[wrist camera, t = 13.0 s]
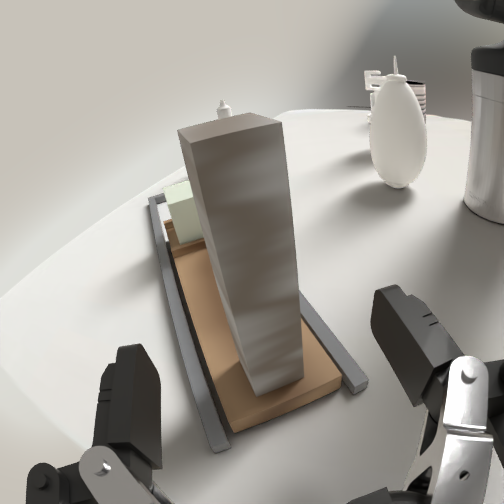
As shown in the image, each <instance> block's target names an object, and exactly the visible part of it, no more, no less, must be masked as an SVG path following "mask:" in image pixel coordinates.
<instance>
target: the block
mask: <svg viewBox="0 0 504 504" xmlns="http://www.w3.org/2000/svg"><path fill="white" fill-rule="evenodd" d="M163 191H164V194H165V198H166V201H167V204H168V208H169V211H170V215H171V218H172V221H173V224H174V228H175V231H176V234H177V237H178V240H179V243H180V245H182V244H185V243H188V242H191V241H194V240H197V239H200V238H204V236H203V232H202V228H201V225H200V221H199V217H198V213H197V209H196V205H195V201H194V198H193V194H192V190H191V186H190V182H189V180H187V181H184V182H181V183H178V184H174V185H171V186H168V187H165V188H163Z"/></svg>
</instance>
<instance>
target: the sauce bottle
mask: <svg viewBox="0 0 504 504" xmlns="http://www.w3.org/2000/svg"><path fill="white" fill-rule="evenodd" d="M386 79H387V80H388V81H387V82H386V83H385V84H384V86H383V87H382V89H381V90H380V92H379V95H378V97H377V99H376V102H375V105H374V109H373V112H372V117H371V123H370V136H369V137H370V151H371V157H372V161H373V164H374V166H375V169H376V171H377V173H378V175H379V176H380V178H381V179H383V180H385V182H386V184H388V185H390V186H391V187H393V188H398V189H399V188H403V187H407V186H408V185H409V184H410V183H412V182H414V181H415V180H416V179H417V177H418V176H419V174H420V172H421V170H422V168H423V166H424V162H425V158H426V152H427V133H426V126H425V121H424V117H423V113H422V110H421V107H420V105H419V102H418V100H417V98H416V96H415V94H414V92H413V90H412V89H411V87H410V86H409V85H408V84H407V83H406V82H405V81H407V79H406V77H405V76H404V75H399V74H398V69H397V60H396V56H394V74H389V75H387V77H386Z"/></svg>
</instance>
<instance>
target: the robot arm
mask: <svg viewBox="0 0 504 504" xmlns="http://www.w3.org/2000/svg"><path fill="white" fill-rule="evenodd" d="M455 2H456V3H457V5H458V6H459V7H460V8H461V9H462V10H463V11H464V12H466V13H468V14H470V15H472V16H475V17H478V18H482V19H487V20H491V21H495V22H499V23H503V24H504V0H455ZM471 62H472V63H471V65H472V69H473V70H472V127H471V142H470V154H469V164H468V172H467V180H466V188H465V195H464V202H465V204H466V205H467V206H468V208H469V209H471V210H472V211H473V212H475V213H476V214H478V215H479V216H481V217H483V218H485V219H488V220H490V221H494V222H497V223H502V224H504V40H503V41H501V42H500V43H497V44H493V45H487V46H480V47H476V48H474V49H473V50H472V53H471ZM371 329H372V333H373V335H374V337H375V339H376V341H377V342H378V344H379V346H380V348H381V349H382V351H383V353H384V354H385V356H386V358H387V360H388V361H389V363H390V365H391V367H392V368H393V370H394V372H395V374H396V376H397V377H398V379H399V381H400V383H401V384H402V386H403V388H404V390H405V392H406V394H407V395H408V397H409V399H410V401H411V403H412V405H413V406H414V407H416V406H418V405H420V404H422V403H425V405H426V407H427V410H426V412H425V417H424V422H423V427H422V431H421V436H420V440H419V444H418V448H417V452H416V456H415V459H414V462H413V464H412V466H411V467H410V470H409V472H408V474H407V477H406V480H405V483H404V486H403V489H402V491H389V492H388V489H387V487H385V488H383V489H380V490H378V491H375V492H373V493H370V494H367V495H365V496H362V497H359V498H357V499H354V500H352V501H350V502H348V503H347V504H483V501H484V496H485V492H486V487H487V481H488V476H489V470H490V463H491V456H492V448H493V446H494V448H495V450H496V453H497V455H498V457H499V459H500V461H501V464H502V466H503V468H504V360H498V361H492V362H486V363H483V362H482V361H481V360H480V359H478V358H476V357H473V356H465V355H464V354H463V353H462V351H461V350H460V349H459V347H458V346H457V345H456V343H455V342H454V341H453V339H452V338H451V336H450V335H449V334H448V333H447V331H446V330H445V329H444V327H443V326H442V325H441V323H439V322H438V319H437V318H436V317H435V316H434V315H432V312H431V311H430V309H429V308H428V307H427V306H426V304H425V303H424V302H423V301H421V300H420V299H418V298H416V297H415V296H413V295H409V296H406V294H405V293H404V292H403V291H402V289H401V288H400V287H399V286H398V285H396V284H395V285H391V286H388V287H385V288H381V289H378V290H376V291H375V293H374V300H373V307H372V314H371ZM99 390H100V393H99V396H98V403H97V411H96V419H95V428H94V437H93V444H92V447H91V448H90V449H88V450H87V451H86V452H85V453H84V454H83V455H82V457H81V459H80V461H79V462H77V463H74V464H71V465H67V466H64V467H61V468H58V469H56V468H55V467H53V466H51V465H50V464H47V463H39V464H37V465H35V466H34V467H33V468H32V469H31V470H30V472H29V474H28V477H27V489H26V504H174V503H173V501H172V500H171V499H170V498H169V497H168V496H167V495H166V494H165V493H164V492H163V491H162V490H161V489H160V488H159V487H158V485H157V484H156V483H155V482H154V481H153V480H152V470H155V469H162V447H161V383H160V377H159V374H158V371H157V369H156V368H155V366H154V364H153V363H152V361H151V359H150V358H149V356H148V354H147V352H146V351H145V349H144V347H143V346H142V345H141V344H134V345H127V346H121V347H119V348H118V350H117V356H116V363H111V364H108V366H107V368H106V369H105V371H104V373H103V375H102V376H101V383H100V389H99Z"/></svg>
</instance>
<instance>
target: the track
mask: <svg viewBox="0 0 504 504" xmlns="http://www.w3.org/2000/svg"><path fill="white" fill-rule="evenodd" d="M148 200H149V206H150V212H151V218H152V224H153V229H154V235H155V240H156V245H157V250H158V255H159V260H160V265H161V270H162V275H163V279H164V284H165V288H166V293H167V297H168V301H169V306H170V310H171V314H172V318H173V322H174V326H175V330H176V334H177V338H178V342H179V346H180V349H181V353H182V357H183V360H184V364H185V368H186V371H187V375H188V378H189V381H190V385H191V388H192V392H193V395H194V398H195V401H196V405H197V408H198V411H199V414H200V417H201V420H202V423H203V426H204V429H205V432H206V435H207V438H208V441H209V444H210V447H211V449H212V450H213V451H214V452H215V453H217V452H220V451H223V450H226V449H229V448H231V446H230V443H229V441H228V438H227V436H226V433H225V430H224V428H223V425H222V423H221V420H220V417H219V415H218V412H217V409H216V406H215V404H214V401H213V398H212V395H211V392H210V389H209V387H208V384H207V381H206V378H205V375H204V372H203V369H202V366H201V363H200V360H199V357H198V354H197V351H196V347H195V344H194V341H193V338H192V335H191V332H190V328H189V325H188V322H187V318H186V315H185V312H184V308H183V305H182V301H181V298H180V294H179V291H178V287H177V284H176V280H175V276H174V273H173V269H172V265H171V261H170V257H169V254H168V250H167V246H166V242H165V238H164V234H163V229H162V225H161V221H160V217H159V212H158V208H157V204H158V203H161V202H164V201H166V198H165V194H164V193H162V194H159V195H156V196H153V197H150V198H148ZM299 299H300V313H301V319H302V320H303V321H304V323H305V324H306V326H307V327H308V328H309V330H310V331H311V332H312V334H313V335H314V337H315V338H316V339H317V341H318V342H319V344H320V345H321V346H322V348H323V349H324V351H325V352H326V353H327V355H328V356H329V357H330V359H331V360H332V362H333V363H334V364H335V366H336V367H337V369H338V370H339V371H340V373H341V374H342V379H343V381H344V382H345V384H346V385H347V386H348V388H349V389H350V391H351V392H352V393H353V395H354V394H356V393H358V392H359V391H361V390H363V389H365V388H367V385H368V381H369V379H368V378H367V376H366V375H365V374H364V372H363V371H362V370H361V369H360V367H359V366H358V365H357V363H356V362H355V361H354V360H353V358H352V357H351V356H350V354H349V353H348V352H347V351H346V349H345V348H344V347H343V345H342V344H341V343H340V342H339V340H338V339H337V338H336V336H335V335H334V334H333V333H332V331H331V330H330V329H329V327H328V326H327V325H326V324H325V322H324V321H323V320H322V319H321V317H320V316H319V315H318V313H317V312H316V311H315V310H314V308H313V307H312V306H311V305H310V303H309V302H308V301H307V299H306V298H305V297H304V296H303V294H302V293H301V292H300V291H299Z"/></svg>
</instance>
